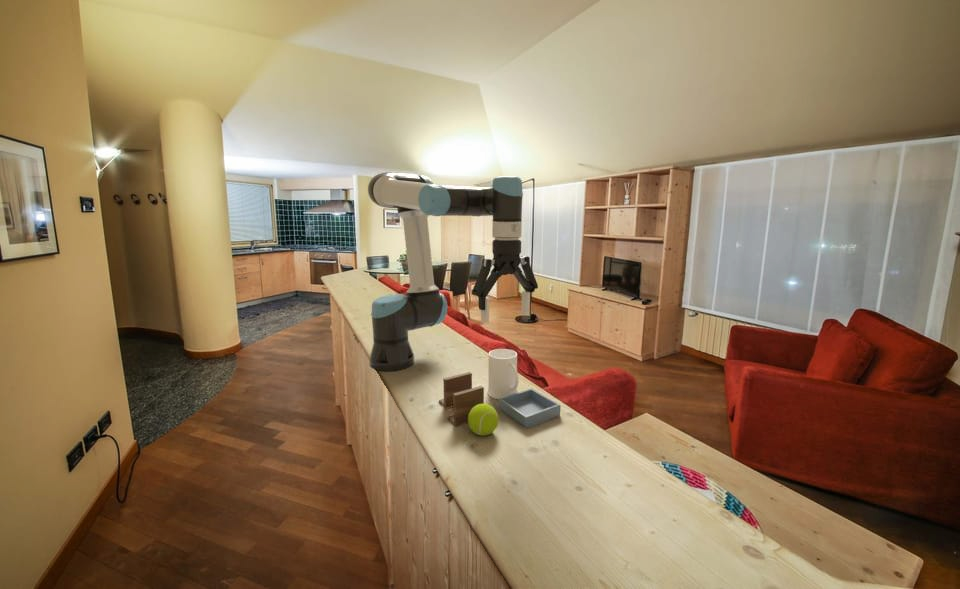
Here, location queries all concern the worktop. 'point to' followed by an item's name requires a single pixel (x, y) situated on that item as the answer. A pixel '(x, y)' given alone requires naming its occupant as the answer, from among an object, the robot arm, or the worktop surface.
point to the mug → (502, 373)
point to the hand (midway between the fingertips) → (505, 318)
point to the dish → (529, 408)
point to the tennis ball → (483, 419)
